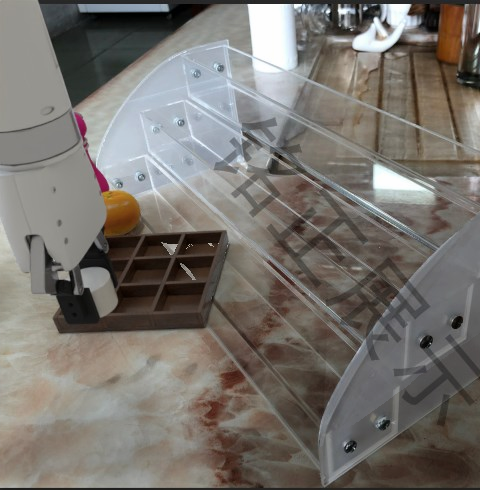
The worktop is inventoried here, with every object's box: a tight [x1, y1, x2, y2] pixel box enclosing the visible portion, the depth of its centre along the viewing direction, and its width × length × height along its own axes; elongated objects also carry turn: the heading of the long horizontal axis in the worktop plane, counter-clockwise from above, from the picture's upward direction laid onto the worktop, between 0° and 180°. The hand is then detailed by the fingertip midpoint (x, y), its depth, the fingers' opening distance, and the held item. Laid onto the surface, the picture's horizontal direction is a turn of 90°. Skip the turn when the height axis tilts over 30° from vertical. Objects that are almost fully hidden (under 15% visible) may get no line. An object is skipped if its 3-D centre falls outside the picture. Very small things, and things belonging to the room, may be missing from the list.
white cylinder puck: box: [64, 267, 118, 318], centre depth 59 cm, size 5×5×3 cm
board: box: [52, 229, 230, 334], centre depth 86 cm, size 20×20×3 cm
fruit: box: [102, 189, 141, 236], centre depth 98 cm, size 8×8×8 cm
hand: (93, 302), depth 60 cm, fingers closed on white cylinder puck, 4 cm apart
